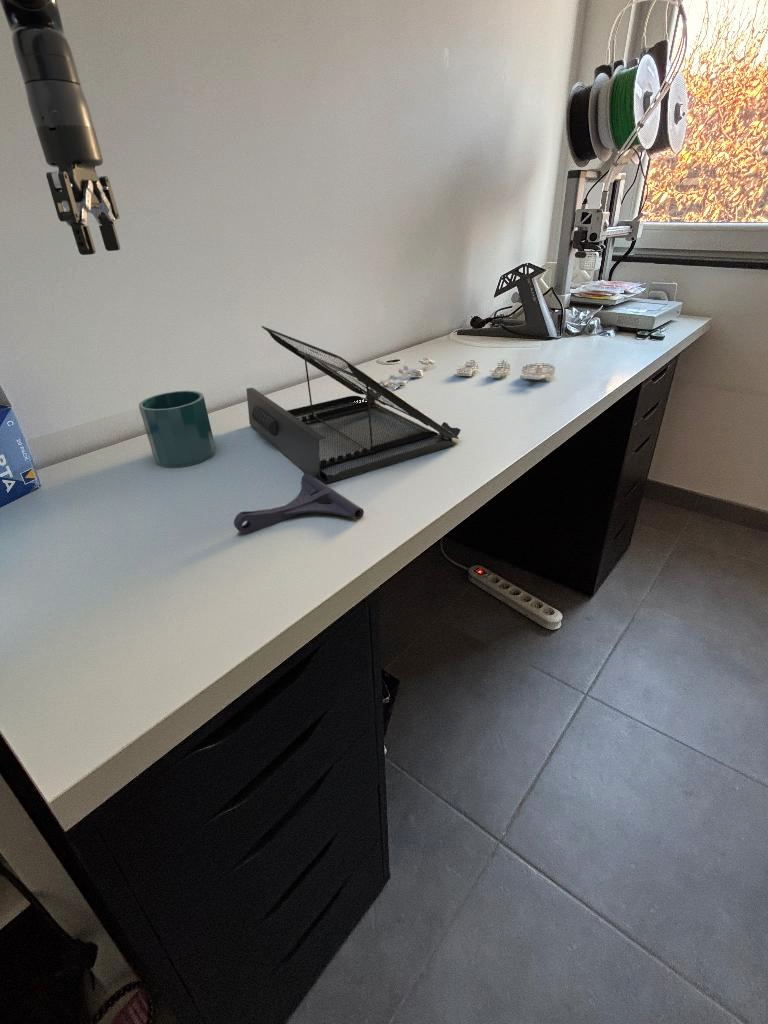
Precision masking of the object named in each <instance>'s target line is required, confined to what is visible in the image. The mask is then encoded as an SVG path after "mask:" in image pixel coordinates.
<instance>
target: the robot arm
mask: <svg viewBox="0 0 768 1024" xmlns="http://www.w3.org/2000/svg"><path fill="white" fill-rule="evenodd" d="M0 5H1V9H2V11H3V13H4V16H5V19H6V22H7V24H8V28H9V30H10V33H11V43H12V48H13V51H14V55H15V58H16V63H17V65H18V69H19V72H20V75H21V78H22V82H23V84H24V89H25V93H26V98H27V99H26V100H27V103H28V107H29V111H30V114H31V117H32V120H33V123H34V127H35V130H36V133H37V137H38V139H39V143H40V147H41V150H42V153H43V156H44V159H45V162H46V165H48V166H50V167H53V168H57V169H58V171H57V170H56V171H47V172H46V173H45V177H46V180H47V183H48V187H49V190H50V194H51V197H52V201H53V205H54V207H55V211H56V215H57V218H58V220H59V221H60V222H62V223H63V222H65V223H66V224H67V226H68V227H70V228H71V231H72V234H73V237H74V240H75V244H76V247H77V250H78V253H79V254H80V255H81V256H87V255H88V256H89V255H90V256H91V255H95V254H96V248H95V244H94V240H93V237H92V233H91V230H90V227H89V225H88V213H89V214H92V215H93V217H94V218H95V220H96V222H97V224H98V228H99V231H100V236H101V238H102V242H103V245H104V248H105V250H106V251H108V252H116V251H120V250H121V244H120V241H119V237H118V234H117V230H116V226H115V224H116V223H117V221H116V220H119V219H120V213H119V209H118V206H117V203H116V200H115V195H114V192H113V189H112V186H111V182H110V178H109V177H108V176H107V175H102V176H99V175H98V174H97V171H96V167H99V166H102V165H103V163H104V158H103V155H102V152H101V147H100V144H99V141H98V140H99V139H98V136H97V132H96V128H95V126H94V121H93V117H92V113H91V110H90V107H89V104H88V101H87V98H86V96H85V94H84V91H83V87H82V84H81V80H80V76H79V72H78V69H77V65H76V62H75V58H74V55H73V52H72V48H71V46H70V43H69V41H68V39H67V37H66V35H65V31H64V26H63V22H62V17H61V13H60V9H59V5H58V1H57V0H0ZM64 209H65V210H64Z"/></svg>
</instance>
